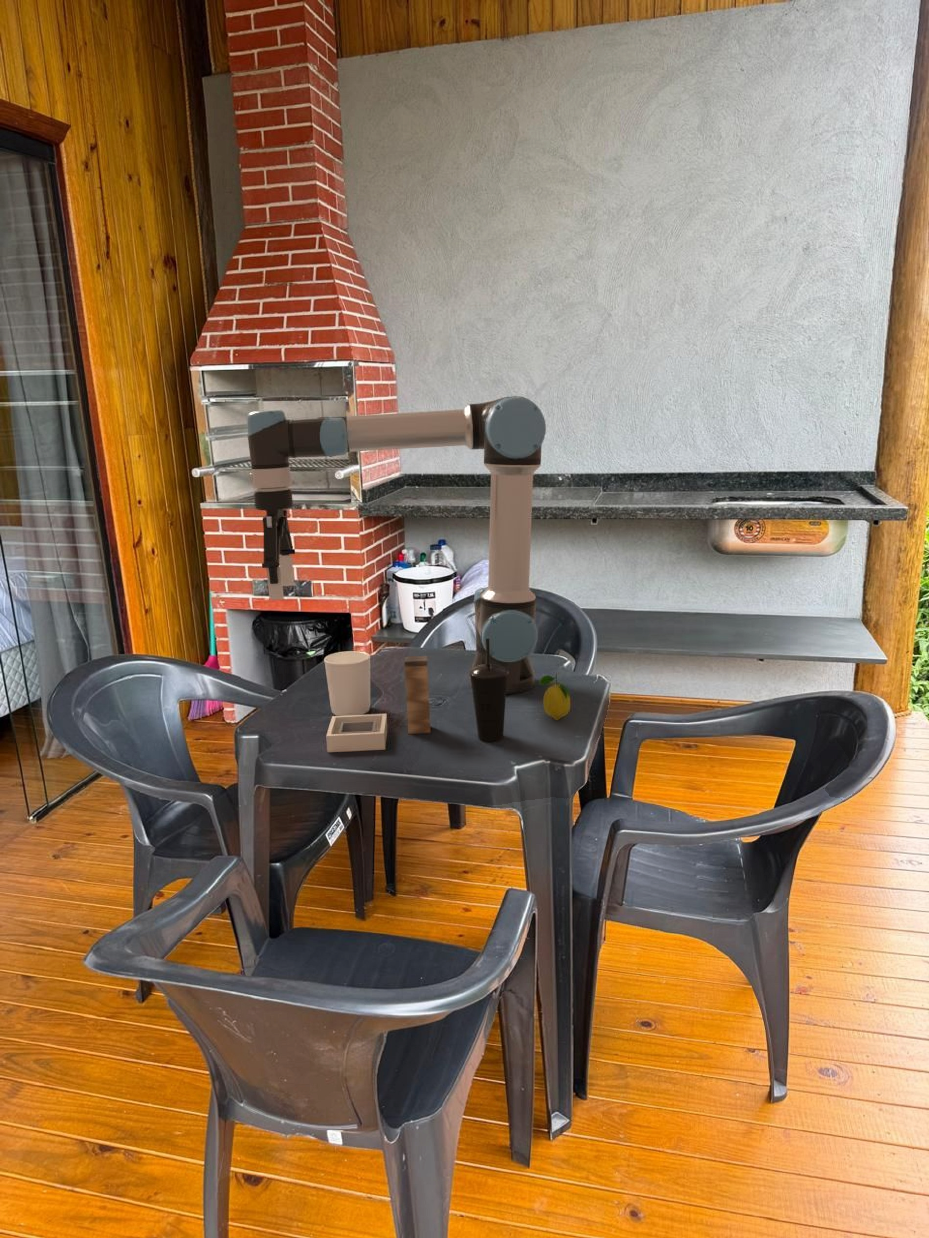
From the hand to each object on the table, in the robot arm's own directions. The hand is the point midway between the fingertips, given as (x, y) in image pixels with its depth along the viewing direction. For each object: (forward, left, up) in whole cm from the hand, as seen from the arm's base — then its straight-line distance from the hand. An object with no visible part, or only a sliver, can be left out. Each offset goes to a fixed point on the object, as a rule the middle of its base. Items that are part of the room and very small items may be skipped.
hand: (282, 592), depth 183 cm
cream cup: (-12, -1, -27) cm, 30 cm away
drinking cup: (-41, +19, -27) cm, 53 cm away
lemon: (-55, +11, -27) cm, 63 cm away
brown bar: (-27, +12, -27) cm, 40 cm away
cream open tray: (-15, +16, -27) cm, 35 cm away
